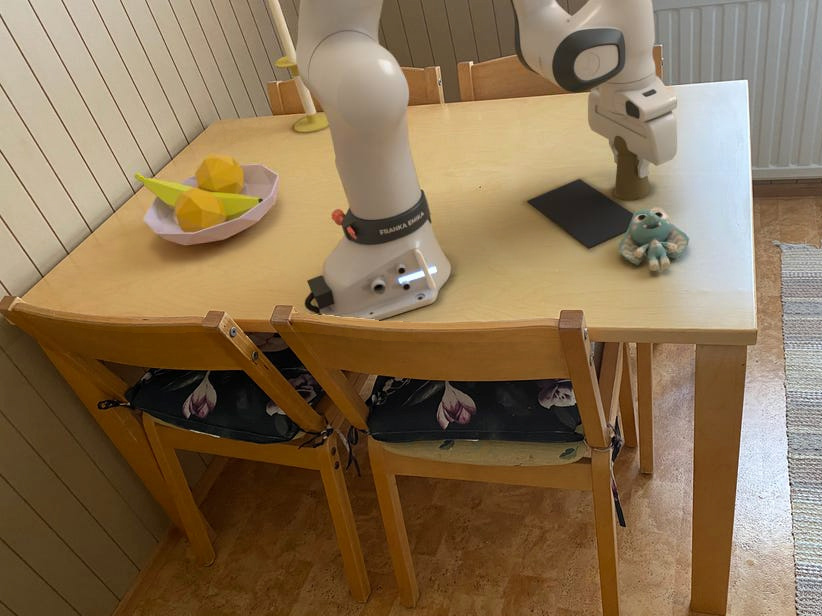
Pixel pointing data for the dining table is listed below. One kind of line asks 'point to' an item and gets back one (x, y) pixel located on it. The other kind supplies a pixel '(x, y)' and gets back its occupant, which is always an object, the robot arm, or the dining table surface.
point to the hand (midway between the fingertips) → (631, 169)
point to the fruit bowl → (211, 201)
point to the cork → (628, 174)
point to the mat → (584, 212)
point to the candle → (296, 76)
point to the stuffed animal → (652, 239)
